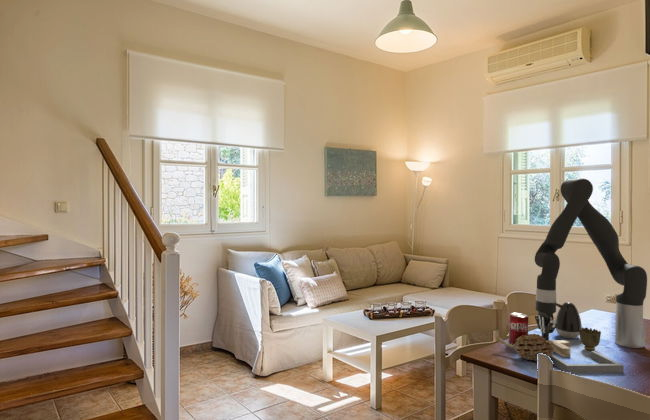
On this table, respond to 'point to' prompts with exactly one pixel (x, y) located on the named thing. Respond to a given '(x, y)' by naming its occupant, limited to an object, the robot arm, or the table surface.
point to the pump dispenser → (568, 321)
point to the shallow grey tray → (590, 365)
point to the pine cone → (530, 346)
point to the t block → (560, 347)
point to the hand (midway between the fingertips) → (545, 341)
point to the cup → (589, 338)
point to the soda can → (517, 326)
